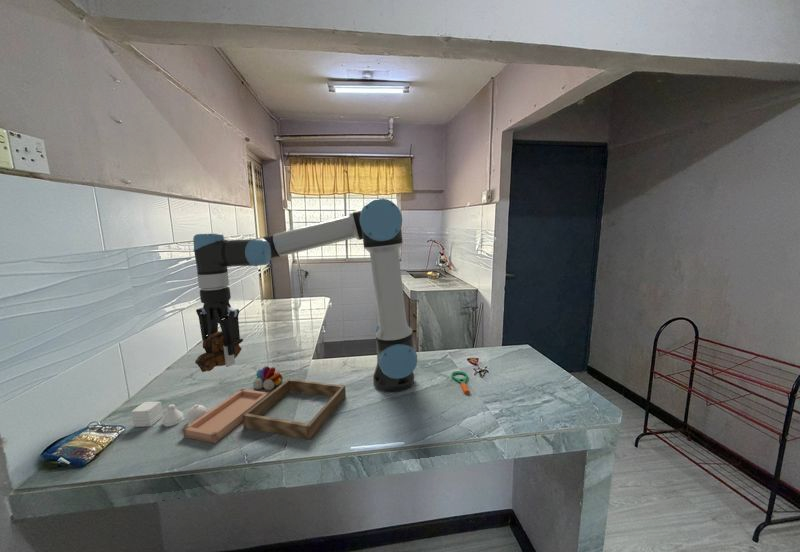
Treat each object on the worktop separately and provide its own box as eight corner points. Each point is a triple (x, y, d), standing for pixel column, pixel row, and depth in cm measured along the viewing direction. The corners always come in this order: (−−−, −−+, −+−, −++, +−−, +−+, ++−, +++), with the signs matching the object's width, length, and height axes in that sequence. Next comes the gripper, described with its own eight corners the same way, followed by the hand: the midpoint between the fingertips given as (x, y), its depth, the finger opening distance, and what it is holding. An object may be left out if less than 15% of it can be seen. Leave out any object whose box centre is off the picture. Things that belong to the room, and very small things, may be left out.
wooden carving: (211, 378, 85) (205, 343, 83) (196, 377, 85) (190, 343, 84) (248, 353, 101) (244, 323, 99) (235, 353, 102) (231, 323, 100)
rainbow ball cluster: (273, 392, 110) (271, 373, 108) (249, 390, 111) (247, 371, 110) (287, 380, 118) (285, 362, 117) (264, 379, 120) (262, 361, 118)
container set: (133, 428, 92) (130, 411, 91) (147, 417, 97) (144, 401, 96) (201, 426, 92) (199, 409, 91) (212, 415, 97) (209, 399, 96)
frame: (345, 396, 105) (345, 385, 105) (310, 439, 84) (309, 426, 84) (289, 389, 111) (288, 378, 111) (243, 427, 90) (242, 415, 90)
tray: (269, 399, 105) (268, 392, 104) (215, 443, 84) (214, 435, 84) (242, 395, 108) (242, 388, 107) (183, 437, 87) (182, 428, 87)
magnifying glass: (449, 374, 120) (449, 370, 120) (465, 373, 120) (465, 369, 120) (458, 395, 105) (458, 391, 105) (475, 395, 105) (475, 390, 105)
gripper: (248, 285, 91) (256, 361, 94) (202, 284, 95) (211, 356, 99) (228, 291, 83) (237, 372, 87) (179, 289, 88) (190, 366, 92)
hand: (224, 363), depth 93 cm, fingers closed on wooden carving, 4 cm apart
